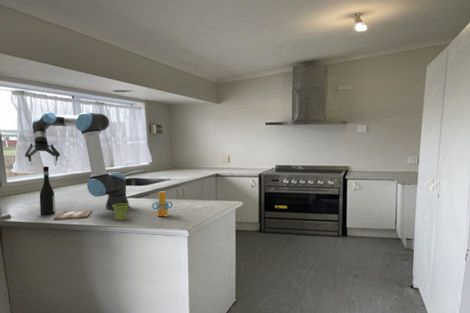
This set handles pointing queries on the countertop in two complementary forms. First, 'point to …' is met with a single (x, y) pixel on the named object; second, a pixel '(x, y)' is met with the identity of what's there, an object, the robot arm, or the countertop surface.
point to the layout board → (73, 215)
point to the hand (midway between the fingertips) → (44, 164)
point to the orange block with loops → (162, 204)
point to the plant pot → (120, 211)
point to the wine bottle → (47, 195)
